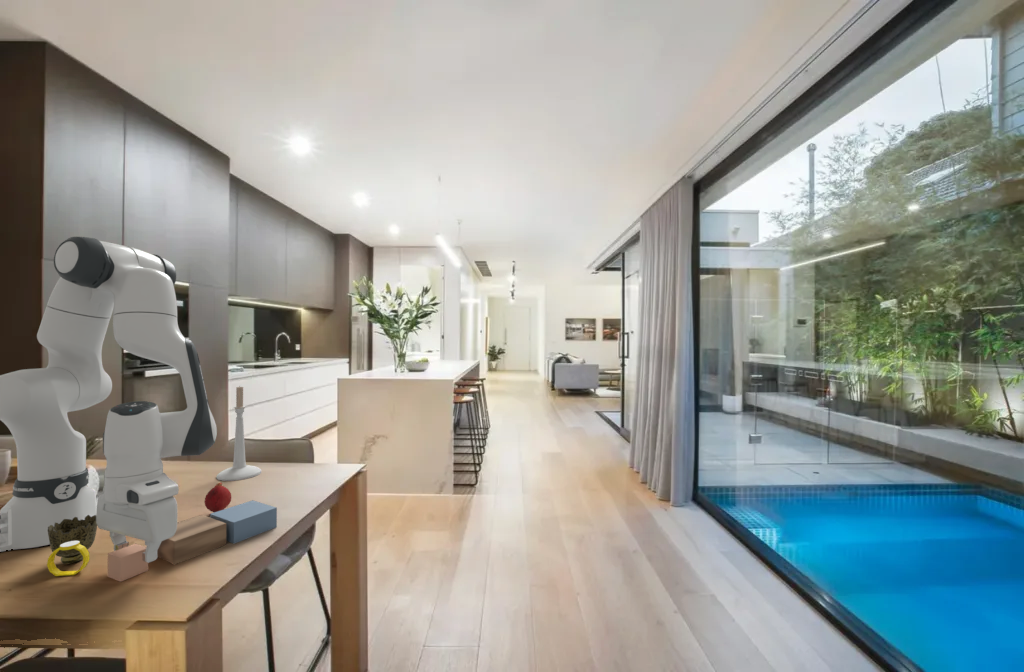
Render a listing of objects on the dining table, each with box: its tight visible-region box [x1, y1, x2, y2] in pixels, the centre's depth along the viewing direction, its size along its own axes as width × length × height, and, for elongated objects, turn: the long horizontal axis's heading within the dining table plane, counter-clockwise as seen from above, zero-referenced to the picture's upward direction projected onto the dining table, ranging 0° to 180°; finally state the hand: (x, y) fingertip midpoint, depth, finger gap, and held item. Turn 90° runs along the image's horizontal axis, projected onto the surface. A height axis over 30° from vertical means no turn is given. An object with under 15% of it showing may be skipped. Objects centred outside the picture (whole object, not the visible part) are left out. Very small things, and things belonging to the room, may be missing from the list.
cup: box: [48, 515, 98, 565], centre depth 91 cm, size 8×7×8 cm
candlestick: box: [216, 385, 262, 482], centre depth 148 cm, size 13×13×30 cm
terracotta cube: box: [107, 543, 149, 583], centre depth 86 cm, size 4×4×4 cm
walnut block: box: [157, 514, 227, 565], centre depth 96 cm, size 10×10×5 cm
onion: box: [204, 481, 232, 513], centre depth 115 cm, size 6×6×8 cm
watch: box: [46, 541, 90, 577], centre depth 85 cm, size 6×3×6 cm, turn 105°
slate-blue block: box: [209, 499, 278, 545], centre depth 105 cm, size 10×10×5 cm
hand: (135, 556), depth 87 cm, fingers open, 8 cm apart
